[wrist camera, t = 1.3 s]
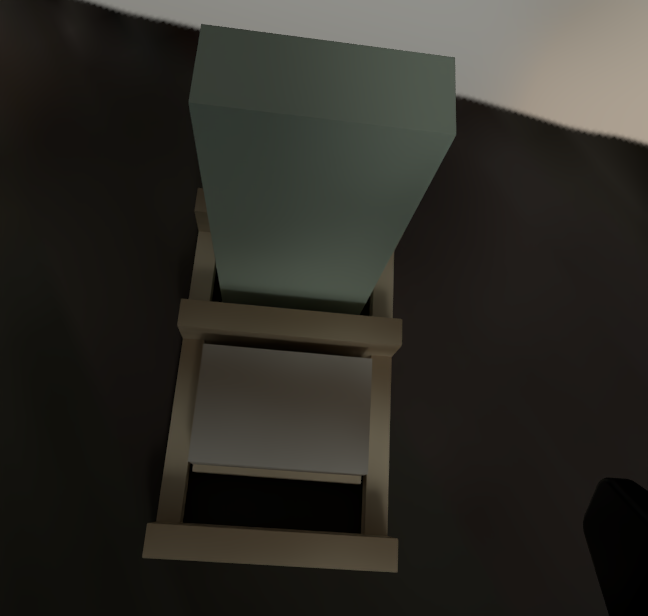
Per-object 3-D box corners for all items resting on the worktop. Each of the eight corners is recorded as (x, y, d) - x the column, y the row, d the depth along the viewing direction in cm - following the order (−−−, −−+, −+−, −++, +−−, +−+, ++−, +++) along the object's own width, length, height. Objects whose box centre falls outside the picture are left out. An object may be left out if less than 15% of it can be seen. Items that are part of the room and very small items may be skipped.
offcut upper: (360, 476, 21) (367, 474, 20) (192, 464, 21) (187, 461, 19) (365, 367, 22) (372, 358, 21) (206, 353, 22) (203, 343, 20)
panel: (358, 317, 24) (455, 134, 12) (222, 305, 23) (188, 102, 12) (360, 272, 25) (455, 57, 13) (228, 259, 24) (201, 24, 12)
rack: (381, 564, 21) (397, 572, 19) (155, 551, 20) (142, 557, 18) (390, 237, 25) (404, 210, 23) (203, 217, 25) (197, 187, 22)
